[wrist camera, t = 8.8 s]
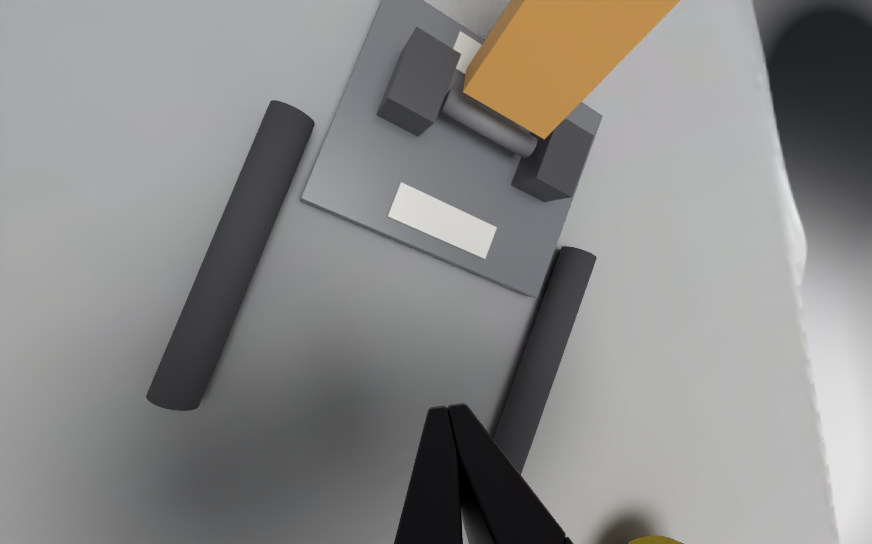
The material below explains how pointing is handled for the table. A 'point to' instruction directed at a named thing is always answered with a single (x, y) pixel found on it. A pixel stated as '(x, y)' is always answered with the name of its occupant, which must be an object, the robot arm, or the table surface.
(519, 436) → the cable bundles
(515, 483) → the robot arm
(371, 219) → the base
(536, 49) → the lever
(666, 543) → the lemon
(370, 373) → the table surface
